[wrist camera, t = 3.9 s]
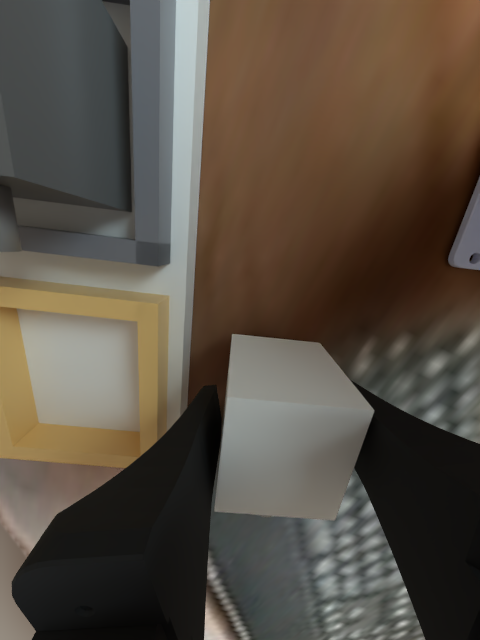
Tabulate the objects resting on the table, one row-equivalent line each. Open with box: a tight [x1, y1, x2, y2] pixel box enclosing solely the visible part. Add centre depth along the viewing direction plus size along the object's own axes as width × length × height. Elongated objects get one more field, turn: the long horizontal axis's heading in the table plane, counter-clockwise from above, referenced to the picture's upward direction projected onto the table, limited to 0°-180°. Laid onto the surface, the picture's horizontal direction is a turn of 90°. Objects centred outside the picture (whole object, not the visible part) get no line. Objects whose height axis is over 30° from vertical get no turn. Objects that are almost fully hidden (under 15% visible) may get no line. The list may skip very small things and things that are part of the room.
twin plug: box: [0, 0, 132, 252], centre depth 6 cm, size 4×7×5 cm
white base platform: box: [0, 0, 210, 468], centre depth 10 cm, size 9×22×4 cm, turn 173°
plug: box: [214, 334, 375, 520], centre depth 10 cm, size 4×7×5 cm
